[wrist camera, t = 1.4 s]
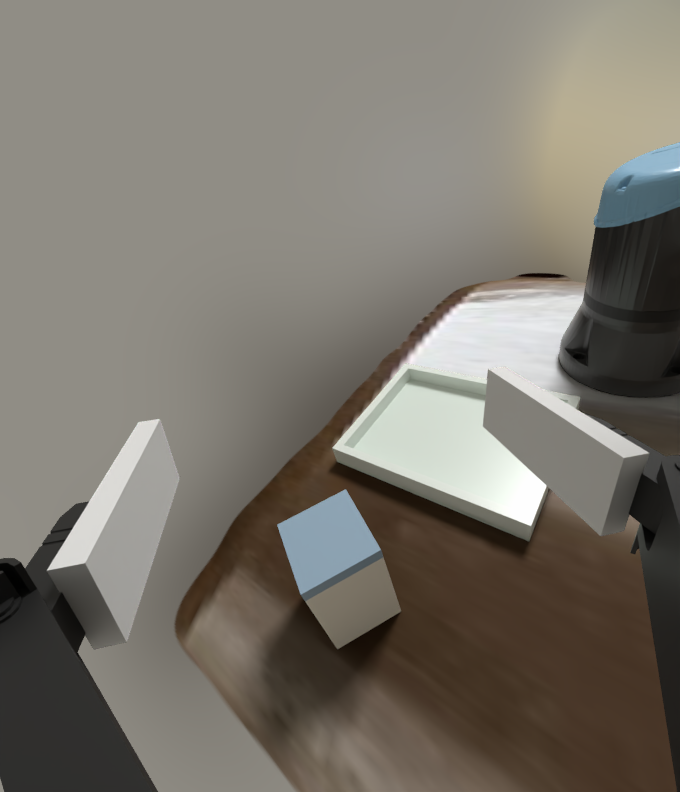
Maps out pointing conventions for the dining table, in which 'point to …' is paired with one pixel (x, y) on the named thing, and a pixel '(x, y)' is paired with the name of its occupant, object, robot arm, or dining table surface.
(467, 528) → the dining table surface
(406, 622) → the dining table surface
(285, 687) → the dining table surface
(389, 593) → the white boxy piece
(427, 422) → the tray
